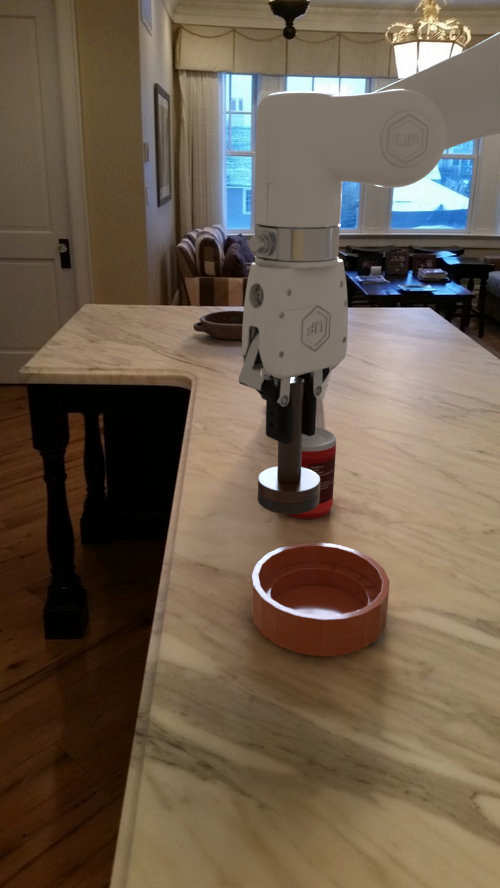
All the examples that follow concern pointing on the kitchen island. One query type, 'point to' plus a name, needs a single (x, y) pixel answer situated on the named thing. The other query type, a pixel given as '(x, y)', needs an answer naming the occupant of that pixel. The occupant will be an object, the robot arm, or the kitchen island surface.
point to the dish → (222, 324)
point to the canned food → (320, 468)
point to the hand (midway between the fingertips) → (290, 434)
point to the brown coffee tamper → (290, 468)
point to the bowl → (319, 598)
